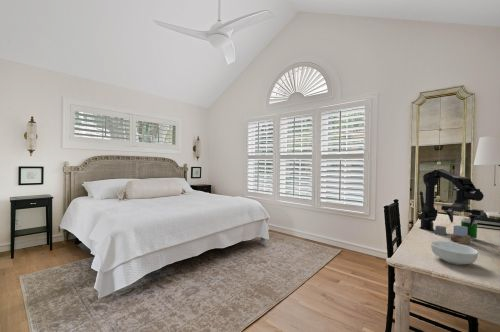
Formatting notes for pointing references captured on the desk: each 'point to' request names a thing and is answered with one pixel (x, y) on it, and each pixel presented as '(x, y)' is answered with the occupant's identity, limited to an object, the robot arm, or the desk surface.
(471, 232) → the soda can
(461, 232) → the blue cube
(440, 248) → the cereal bowl
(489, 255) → the desk surface
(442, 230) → the charcoal cube
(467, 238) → the walnut plinth
